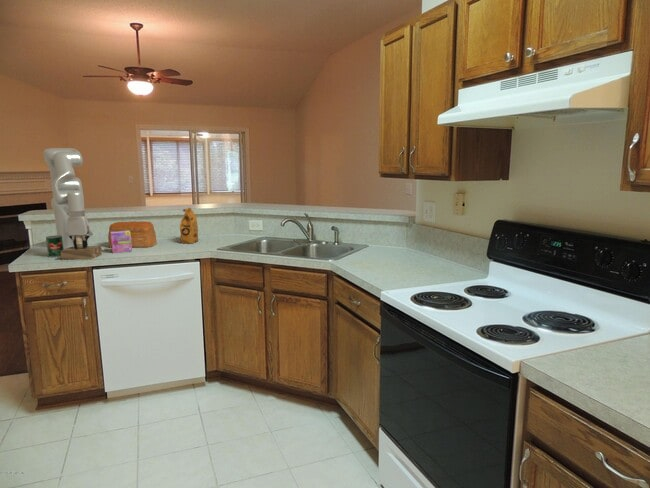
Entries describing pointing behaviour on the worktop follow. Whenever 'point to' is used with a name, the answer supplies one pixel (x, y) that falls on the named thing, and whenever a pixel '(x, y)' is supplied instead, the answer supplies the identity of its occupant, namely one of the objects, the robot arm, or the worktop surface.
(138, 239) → the bread
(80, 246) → the peg
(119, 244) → the box
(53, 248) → the canned tomato
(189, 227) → the coffee package
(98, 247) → the board
